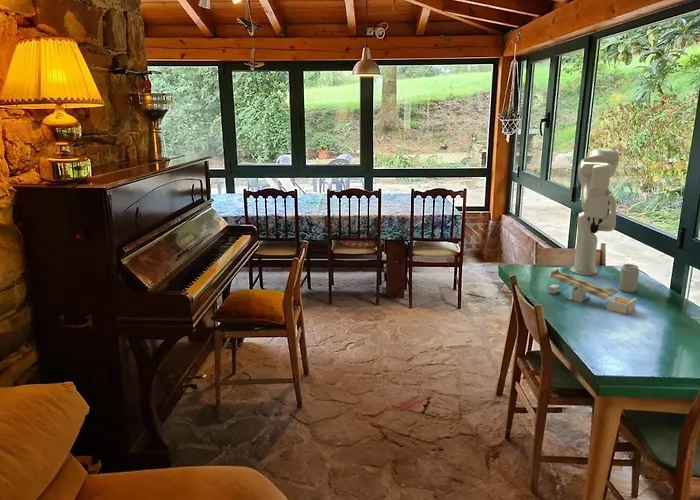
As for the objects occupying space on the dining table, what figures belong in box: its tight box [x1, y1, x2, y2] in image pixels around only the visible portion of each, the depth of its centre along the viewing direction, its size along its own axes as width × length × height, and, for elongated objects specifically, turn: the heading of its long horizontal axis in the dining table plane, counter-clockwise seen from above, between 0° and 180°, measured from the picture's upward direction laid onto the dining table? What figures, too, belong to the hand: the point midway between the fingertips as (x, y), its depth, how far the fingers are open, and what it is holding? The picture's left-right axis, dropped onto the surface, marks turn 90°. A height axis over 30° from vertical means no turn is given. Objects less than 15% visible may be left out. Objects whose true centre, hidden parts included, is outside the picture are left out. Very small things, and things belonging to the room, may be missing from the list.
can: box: [618, 263, 640, 293], centre depth 244 cm, size 8×8×12 cm
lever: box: [549, 268, 619, 300], centre depth 236 cm, size 25×14×3 cm, turn 44°
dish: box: [606, 295, 637, 316], centre depth 222 cm, size 8×8×5 cm
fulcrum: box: [547, 280, 590, 304], centre depth 237 cm, size 16×11×7 cm, turn 44°
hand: (593, 232), depth 240 cm, fingers closed
